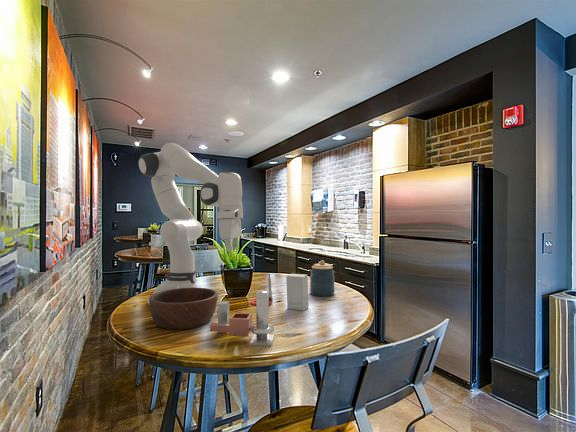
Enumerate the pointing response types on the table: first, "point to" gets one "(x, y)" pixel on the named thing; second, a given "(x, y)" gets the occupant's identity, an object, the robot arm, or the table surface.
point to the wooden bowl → (183, 307)
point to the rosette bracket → (250, 323)
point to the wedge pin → (223, 312)
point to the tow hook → (269, 292)
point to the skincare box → (297, 291)
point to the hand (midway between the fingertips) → (232, 250)
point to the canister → (322, 280)
